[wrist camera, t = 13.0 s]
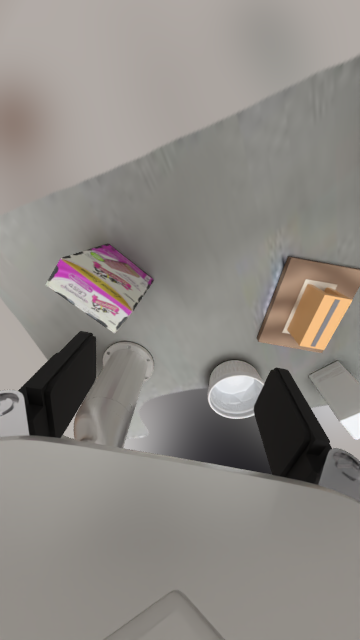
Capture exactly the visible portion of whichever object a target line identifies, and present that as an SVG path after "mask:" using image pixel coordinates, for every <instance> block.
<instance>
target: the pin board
mask: <svg viewBox="0 0 360 640" xmlns="http://www.w3.org/2000/svg"><path fill="white" fill-rule="evenodd" d="M307 284H311V285H314V286H316V287H317V288H319V289H320V290H322V291H325V289H326V287H328V288H332V289H334V290H336V291H338V292H339V293H341V294H343V295H345V296H347V297H348V298H350V299H353V297H354V295H355V294H356V292H357V290H358V288H359V287H360V269H355V268H350V267H344V266H339V265H333V264H328V263H322V262H317V261H311V260H306V259H300V258H295V257H289V256H288V258H287V261H286V264H285V266H284V269H283V271H282V274H281V277H280V279H279V282H278V284H277V287H276V290H275V292H274V295H273V297H272V300H271V303H270V305H269V308H268V310H267V313H266V316H265V318H264V321H263V323H262V326H261V329H260V331H259V334H258V336H257V340H258V342H263V343H268V344H274V345H280V346H285V347H291V348H297V349H302V350H308V351H314V352H319V353H322V352H323V350H320V349H315V348H309V347H303V346H299V345H298V343H297V342H296V341H295V339H294V338H293V337H292V336H291V334H290V333H289V332H288V330H287V329H288V327H289V324H290V322H291V320H292V318H293V315H294V313H295V311H296V309H297V307H298V304H299V302H300V300H301V298H302V295H303V293H304V291H305V289H306V287H307Z"/></svg>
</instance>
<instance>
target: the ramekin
mask: <svg viewBox="0 0 360 640" xmlns="http://www.w3.org/2000/svg"><path fill="white" fill-rule="evenodd" d="M263 386H264V381H263V380H262V379H261V377H260V375H259V374H258V372H257V371H256V369H255V368H254V367H253V366H252V365H250V364H248V363H246V362H243V361H238V360H231V361H226V362H224V363H222V364H220V365H218V366H217V367H216V368H215V369H214V370H213V372H212V373H211V376H210V380H209V389H208V402H209V404H210V406H211V408H212V409H213V410H214V411H215V412H216V413H218V414H220V415H221V416H224V417H228V418H234V419H239V418H240V419H241V418H247V417H250V416H253V415H255V414H254V405H255V402H256V400H257V398H258V396H259V394H260V392H261V390H262V388H263Z"/></svg>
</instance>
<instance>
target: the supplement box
mask: <svg viewBox="0 0 360 640" xmlns="http://www.w3.org/2000/svg"><path fill="white" fill-rule="evenodd" d="M309 378H310V379H311V380H312V382H313V383H314V385H315V386H316V388H317V389H318V391H319V392H320V394H321V395H322V397H323V398H324V399H325V401H326V402H327V404H328V405H329V407H330V408H331V410H332V411H333V412H334V414H335V416H336V417H337V419H338V420H339V422H340V423H341V424H342V425H343V426H344V428H345V429H346V430H347V431H348V432H349V433H350V435H351V436H352V437H353V438H354V439H355V440H357V439H360V383H359V382H358V381H357V380H356V379H355V378H354V377H353V376H352V375H351V374H350V373H349V372H348V371H347V370H346V369H345V368H344V366H343V365H342V364H341V363H340V362H339V361H336V362H334V363H332V364H330V365H328V366H326V367H324V368H322V369H320V370H318V371H316V372H314V373H312V374H311V375H309Z"/></svg>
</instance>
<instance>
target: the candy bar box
mask: <svg viewBox="0 0 360 640" xmlns="http://www.w3.org/2000/svg"><path fill="white" fill-rule="evenodd" d="M153 281H154V280H153V279H152V278H151V277H150V276H148V275H147V274H146V273H145V272H143V271H142V270H141V269H140V268H138V267H137V266H136V265H135V264H133V263H132V262H131V261H130V260H128V259H127V258H126V257H124V256H123V255H122V254H121V253H120V252H118V251H117V250H116V249H115V248H113V247H112V246H111V245H110V244H105V245H102V246H99V247H96V248H92V249H89V250H86V251H82V252H79V253H76V254H73V255H69V256H66V257H63V258H60V260H59V262H58V264H57V266H56V268H55V269H54V271H53V273H52V275H51V276H50V278H49V280H48V281H47V283H46V286H48V287H49V288H50V289H52V290H53V291H55V292H56V293H58V294H59V295H60V296H62V297H63V298H65V299H66V300H68V301H69V302H70V303H72V304H73V305H75V306H76V307H78V308H79V309H80V310H82V311H83V312H85V313H86V314H87V315H89V316H90V317H92V318H93V319H95V320H96V321H97V322H99V323H100V324H102V325H103V326H105V327H106V328H107V329H109V330H110V331H112V332H113V333H116V332H117V330H118V329H119V328H120V327H121V325H122V324H123V323H124V322H125V320H126V319H127V318H128V317H129V315H130V314H131V313H132V312H133V311H134V309H135V307H136V306H137V304H138V303H139V302H140V300H141V299H142V297H143V296H144V294H145V293H146V291H147V290H148V288H149V287H150V285H151V284H152V282H153Z"/></svg>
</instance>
